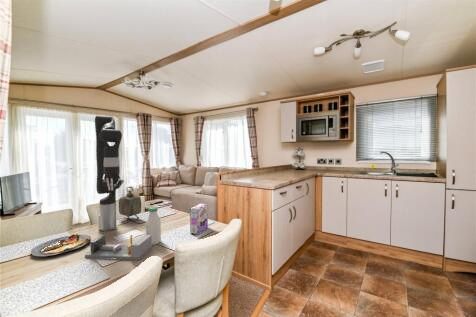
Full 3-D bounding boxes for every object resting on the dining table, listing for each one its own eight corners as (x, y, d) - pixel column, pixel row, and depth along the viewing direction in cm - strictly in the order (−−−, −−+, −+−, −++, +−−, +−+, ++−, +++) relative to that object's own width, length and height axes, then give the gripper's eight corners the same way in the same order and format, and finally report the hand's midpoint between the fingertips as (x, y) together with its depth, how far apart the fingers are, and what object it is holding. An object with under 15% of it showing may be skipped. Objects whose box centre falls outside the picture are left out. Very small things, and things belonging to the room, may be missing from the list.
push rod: (90, 252, 105) (90, 241, 105) (102, 245, 113) (102, 235, 113) (112, 253, 104) (112, 243, 104) (123, 246, 112) (123, 236, 112)
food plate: (84, 234, 132) (83, 228, 131) (97, 245, 117) (96, 239, 117) (28, 250, 112) (27, 243, 112) (35, 265, 98) (34, 258, 97)
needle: (127, 252, 105) (127, 236, 105) (133, 248, 110) (133, 232, 110) (129, 252, 105) (129, 236, 104) (135, 248, 110) (135, 233, 109)
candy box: (198, 235, 131) (197, 209, 130) (189, 233, 133) (189, 208, 132) (208, 227, 144) (208, 203, 144) (200, 226, 146) (200, 202, 145)
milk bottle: (163, 240, 123) (163, 206, 122) (154, 246, 116) (154, 210, 115) (153, 238, 126) (152, 205, 125) (143, 244, 118) (142, 209, 118)
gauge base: (85, 257, 104) (84, 242, 103) (103, 246, 115) (102, 233, 115) (138, 260, 101) (138, 245, 100) (151, 249, 113) (151, 235, 112)
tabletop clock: (141, 218, 162) (141, 186, 161) (131, 222, 153) (130, 188, 152) (128, 216, 168) (127, 185, 167) (118, 219, 159) (117, 187, 158)
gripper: (127, 165, 119) (127, 195, 120) (105, 165, 121) (106, 195, 121) (118, 166, 112) (119, 198, 113) (95, 166, 113) (96, 198, 114)
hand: (112, 196), depth 117 cm, fingers closed
